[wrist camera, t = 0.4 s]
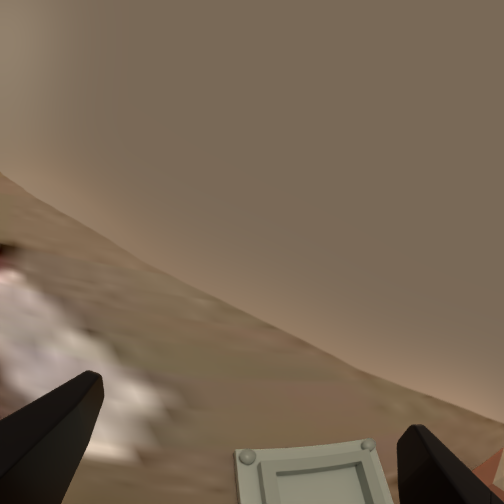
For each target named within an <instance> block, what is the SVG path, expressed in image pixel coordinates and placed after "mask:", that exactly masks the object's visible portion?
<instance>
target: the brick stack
mask: <svg viewBox="0 0 504 504" xmlns="http://www.w3.org/2000/svg"><path fill="white" fill-rule="evenodd" d="M472 472H473V473H474V474H475V475H476V476H477V477H478V478H479V479H480V480H481V481H482V482H483V483H484V484H485V485H486V486H487V487H488V488H489V489H490V491H493V492H494V493H495V494H496V495H497V496H498V497H499V498H500V499H501V500H502V501H503V502H504V447H503V448H502V449H501V450H500V451H498V452H497V453H496V454H494V455H493V456H492V457H491V458H489V459H488V460H487V461H485V462H484V463H482V464H481V465H480V466H478V467H477V468H476V469H474V470H473V471H472Z"/></svg>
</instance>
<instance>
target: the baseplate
mask: <svg viewBox="0 0 504 504" xmlns="http://www.w3.org/2000/svg"><path fill="white" fill-rule="evenodd" d="M375 447H376V442H375V440H373V439H372V438H367V439H363V440H357V441H350V442H343V443H335V444H327V445H318V446H307V447H295V448H278V449H235V452H234V465H235V476H236V487H237V497H238V504H393V501H392V497H391V494H390V491H389V488H388V485H387V482H386V479H385V475H384V472H383V469H382V466H381V463H380V460H379V457H378V454H377V451H376V448H375Z"/></svg>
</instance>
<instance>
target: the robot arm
mask: <svg viewBox="0 0 504 504" xmlns="http://www.w3.org/2000/svg"><path fill="white" fill-rule="evenodd" d="M103 400H104V387H103V380H102V376H101V375H100V374H99V373H96V372H93V371H90V370H87V371H85V372H83V373H81V374H80V375H78V376H76V377H75V378H73V379H71V380H69V381H68V382H66V383H64V384H63V385H61V386H59V387H57V388H56V389H54V390H52V391H51V392H49V393H47V394H45V395H44V396H42V397H40V398H38V399H37V400H35V401H33V402H32V403H30V404H28V405H26V406H25V407H23V408H21V409H19V410H18V411H16V412H14V413H12V414H11V415H9V416H7V417H5V418H3V419H2V420H0V504H61V503H62V500H63V498H64V496H65V493H66V491H67V489H68V487H69V485H70V482H71V480H72V478H73V476H74V474H75V472H76V469H77V467H78V465H79V463H80V461H81V459H82V457H83V454H84V452H85V450H86V448H87V446H88V444H89V441H90V438H91V435H92V432H93V429H94V426H95V423H96V420H97V417H98V415H99V412H100V409H101V406H102V403H103ZM397 467H398V491H399V499H400V504H504V502H503V501H502V500H501V499H500V498H499V497H498V496H497V495H496V494H495V493H494V492H493V491H490V489H489V488H488V487H487V486H486V485H485V484H484V483H483V482H482V481H481V480H480V479H479V478H478V477H477V476H476V475H475V474H474V473H473V472H472V471H471V470H470V469H469V468H468V467H467V466H466V465H465V464H464V463H462V462H461V461H460V460H459V459H458V458H457V457H456V456H455V455H454V454H453V453H452V452H451V451H450V450H449V449H448V448H447V447H446V446H445V445H444V444H443V443H442V442H441V441H440V440H439V439H438V438H437V437H436V436H435V435H434V434H433V433H432V432H431V431H429V430H428V429H427V428H426V427H425V426H424V425H422V424H414V425H411V426H409V428H408V429H407V430H406V431H405V433H404V434H403V435H402V436H401V438H400V439H399V440H398V443H397Z"/></svg>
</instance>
